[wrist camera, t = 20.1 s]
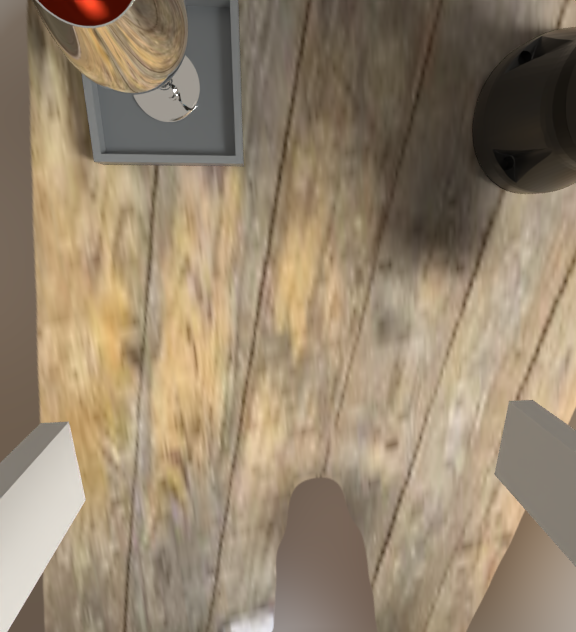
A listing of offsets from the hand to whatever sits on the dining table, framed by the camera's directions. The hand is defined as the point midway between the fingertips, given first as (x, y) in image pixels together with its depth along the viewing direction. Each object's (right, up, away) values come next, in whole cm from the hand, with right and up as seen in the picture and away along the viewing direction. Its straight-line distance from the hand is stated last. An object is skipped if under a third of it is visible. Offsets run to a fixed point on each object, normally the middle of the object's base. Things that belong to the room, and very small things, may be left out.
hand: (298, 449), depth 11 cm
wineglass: (-12, +26, +23) cm, 37 cm away
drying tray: (-12, +26, +24) cm, 37 cm away
